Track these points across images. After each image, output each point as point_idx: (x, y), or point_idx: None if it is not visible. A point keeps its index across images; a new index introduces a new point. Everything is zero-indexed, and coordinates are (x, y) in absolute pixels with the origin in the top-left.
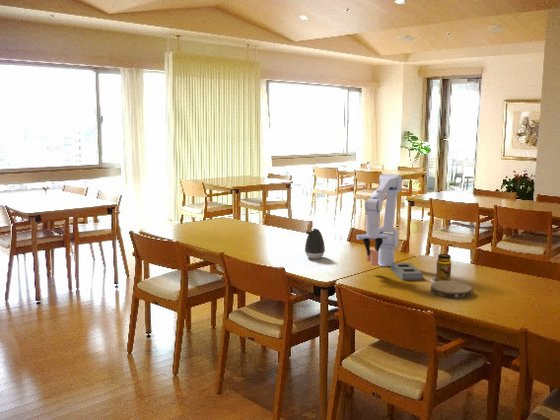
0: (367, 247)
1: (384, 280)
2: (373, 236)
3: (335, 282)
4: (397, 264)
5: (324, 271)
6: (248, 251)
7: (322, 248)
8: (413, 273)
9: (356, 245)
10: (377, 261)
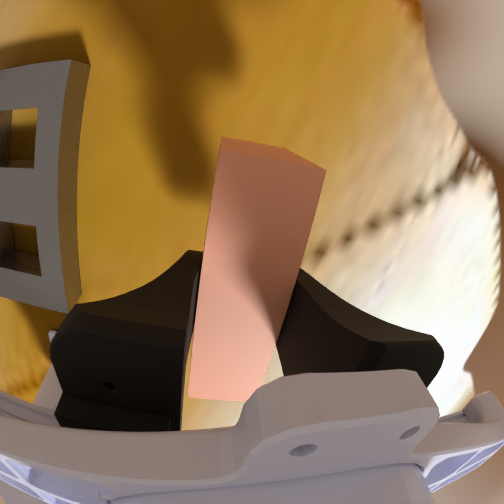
0: (350, 306)
1: (200, 76)
2: (383, 455)
3: (465, 147)
4: (38, 281)
5: (413, 321)
6: None
7: None
8: (14, 67)
9: None
10: (230, 141)
